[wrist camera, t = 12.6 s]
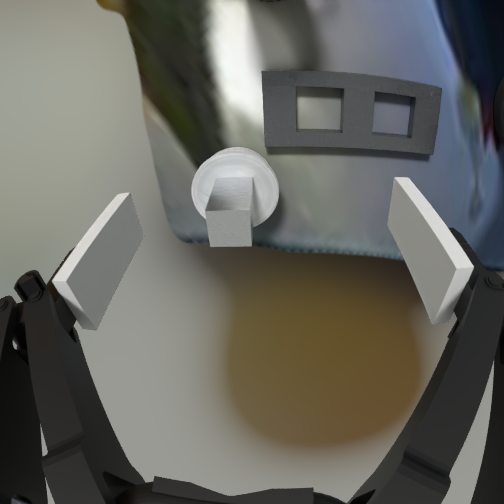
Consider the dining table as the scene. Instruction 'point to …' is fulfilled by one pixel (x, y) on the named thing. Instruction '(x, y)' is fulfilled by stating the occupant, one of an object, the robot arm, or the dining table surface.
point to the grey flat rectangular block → (348, 111)
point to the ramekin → (238, 165)
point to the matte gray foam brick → (231, 212)
